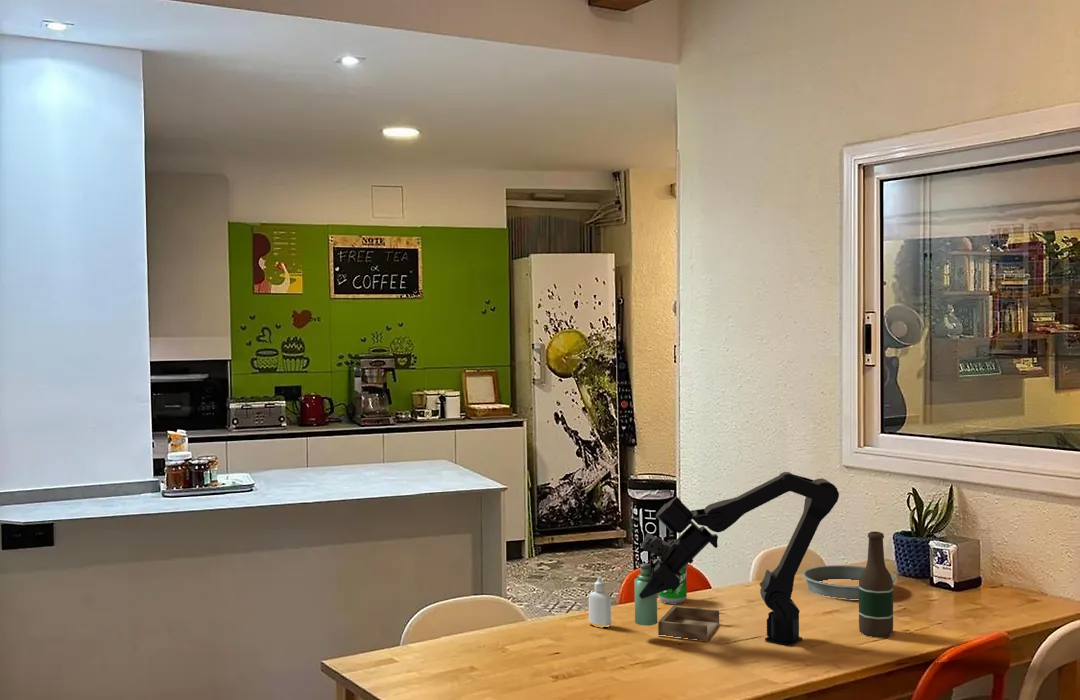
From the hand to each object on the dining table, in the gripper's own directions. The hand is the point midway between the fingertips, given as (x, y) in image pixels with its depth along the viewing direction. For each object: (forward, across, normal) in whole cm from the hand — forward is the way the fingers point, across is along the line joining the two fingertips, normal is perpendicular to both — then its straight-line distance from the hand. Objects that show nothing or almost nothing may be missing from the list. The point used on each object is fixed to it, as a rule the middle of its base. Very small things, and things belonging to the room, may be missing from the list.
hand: (639, 594), depth 238 cm
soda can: (+1, -33, +15) cm, 36 cm away
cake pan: (-34, -46, +50) cm, 75 cm away
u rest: (-1, -7, +16) cm, 18 cm away
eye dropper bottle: (+14, -10, +1) cm, 18 cm away
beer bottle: (-32, -6, +47) cm, 57 cm away
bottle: (+4, 0, +6) cm, 7 cm away
